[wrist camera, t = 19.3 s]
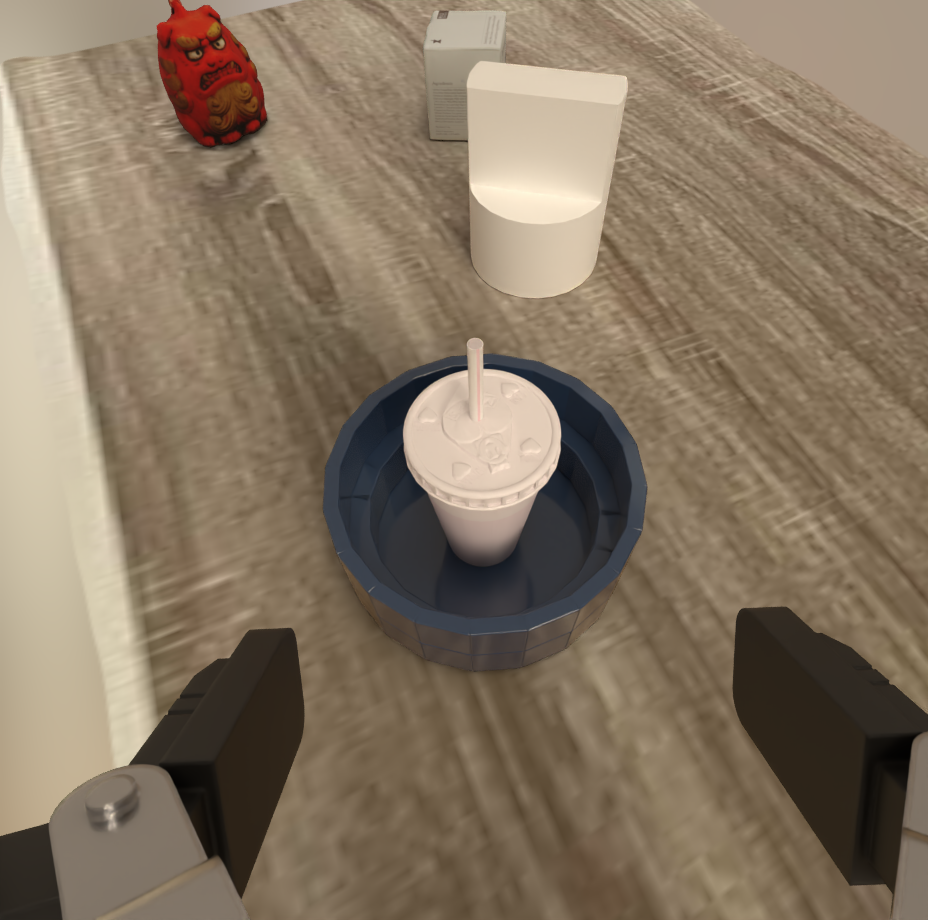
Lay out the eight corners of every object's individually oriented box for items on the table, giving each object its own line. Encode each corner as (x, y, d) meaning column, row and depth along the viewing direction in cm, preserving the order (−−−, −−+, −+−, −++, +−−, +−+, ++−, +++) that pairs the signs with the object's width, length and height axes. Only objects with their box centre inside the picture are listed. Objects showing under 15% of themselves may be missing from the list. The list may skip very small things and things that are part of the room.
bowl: (444, 391, 40) (437, 316, 34) (663, 497, 35) (695, 429, 30) (294, 579, 33) (256, 524, 28) (537, 735, 29) (550, 707, 23)
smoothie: (515, 466, 36) (529, 269, 24) (565, 565, 32) (610, 396, 21) (406, 503, 35) (363, 318, 23) (446, 611, 31) (422, 460, 19)
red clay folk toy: (214, 162, 53) (128, -57, 40) (167, 131, 56) (72, -84, 43) (286, 122, 56) (227, -94, 43) (238, 94, 59) (169, -118, 46)
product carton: (500, 143, 53) (502, 48, 47) (428, 140, 54) (421, 46, 48) (505, 102, 56) (507, 9, 50) (437, 101, 57) (431, 8, 51)
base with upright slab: (605, 223, 48) (637, 50, 37) (585, 308, 43) (616, 137, 33) (487, 206, 49) (488, 35, 39) (456, 286, 44) (447, 116, 34)
